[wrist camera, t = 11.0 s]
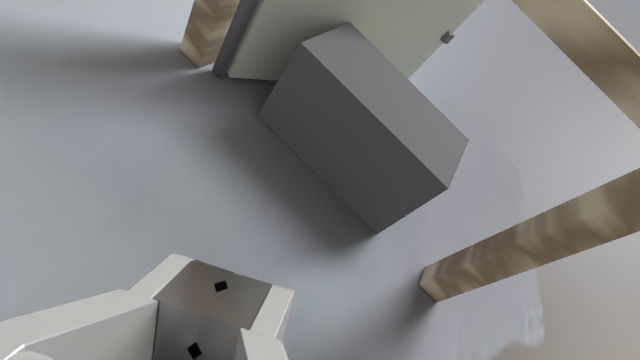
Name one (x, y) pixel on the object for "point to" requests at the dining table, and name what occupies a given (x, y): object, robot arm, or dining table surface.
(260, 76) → the door
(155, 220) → the dining table surface
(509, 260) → the door frame
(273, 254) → the dining table surface
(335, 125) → the block
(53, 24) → the dining table surface
